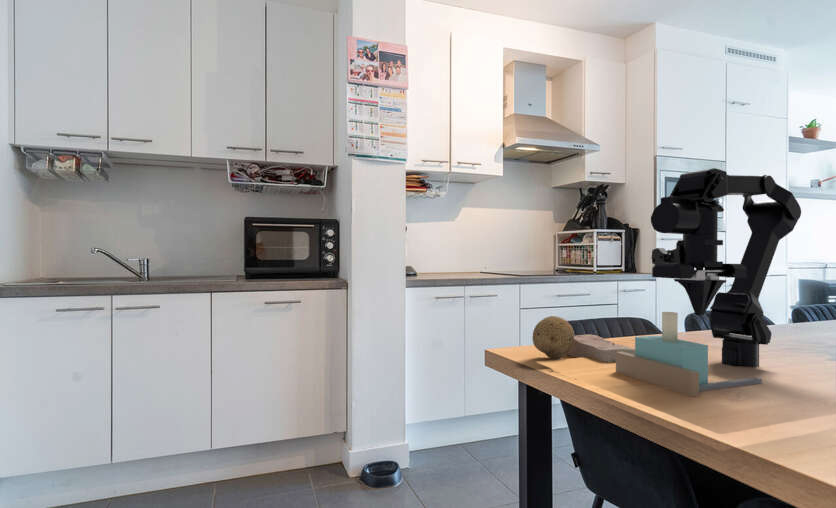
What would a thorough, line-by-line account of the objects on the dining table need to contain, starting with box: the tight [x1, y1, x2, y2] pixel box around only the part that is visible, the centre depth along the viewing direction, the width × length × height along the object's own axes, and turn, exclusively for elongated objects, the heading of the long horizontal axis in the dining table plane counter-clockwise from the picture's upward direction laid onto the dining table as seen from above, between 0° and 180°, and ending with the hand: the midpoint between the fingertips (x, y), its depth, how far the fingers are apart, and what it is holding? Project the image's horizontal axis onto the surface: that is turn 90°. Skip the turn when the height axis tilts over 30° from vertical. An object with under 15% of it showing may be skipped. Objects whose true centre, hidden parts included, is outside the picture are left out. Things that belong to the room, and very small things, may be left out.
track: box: [615, 352, 763, 398], centre depth 81 cm, size 19×16×5 cm
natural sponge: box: [532, 315, 575, 361], centre depth 101 cm, size 9×9×10 cm
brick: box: [566, 334, 635, 363], centre depth 101 cm, size 17×8×5 cm, turn 12°
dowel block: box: [634, 311, 709, 384], centre depth 79 cm, size 6×10×12 cm, turn 19°
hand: (699, 315), depth 87 cm, fingers closed
